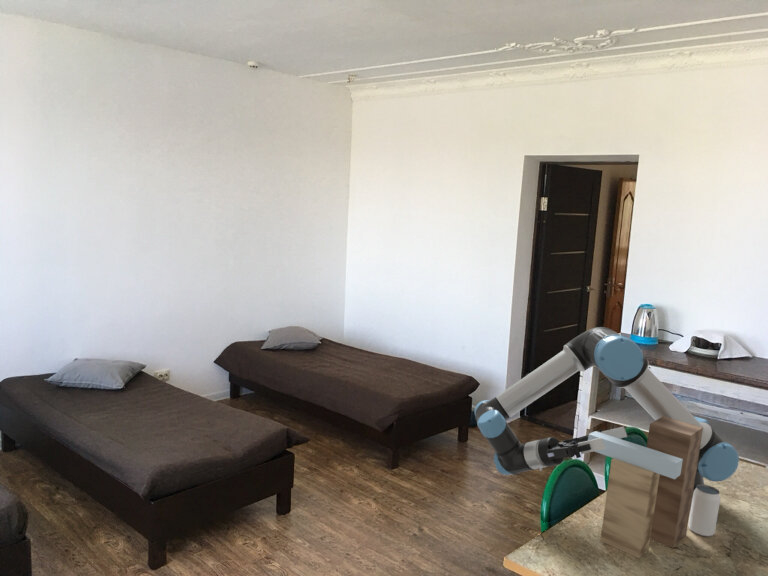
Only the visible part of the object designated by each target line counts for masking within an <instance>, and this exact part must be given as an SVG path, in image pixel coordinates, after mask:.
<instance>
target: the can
mask: <svg viewBox="0 0 768 576" xmlns="http://www.w3.org/2000/svg"><path fill="white" fill-rule="evenodd" d="M720 502H721V496H720V491H719V489H717V488H716V487H713V486H711V485H707V484H705V485H702V484H700V485H697V486H696V489H695V490H694V493H693V498H692V501H691V507H690V513H689V520H688V526H687V528H689V530H690V531H691V532H692V533H694V534H696V535H698V536H701V537H707V538H708V537H712V536H713V535H715V533H716V527H717V521H718V514H719V511H720V510H719V509H720Z"/></svg>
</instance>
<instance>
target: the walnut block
mask: <svg viewBox="0 0 768 576" xmlns="http://www.w3.org/2000/svg"><path fill="white" fill-rule="evenodd" d="M648 428H649V429H648V436H647V442H646V447H647V448H650V449H653V450H656V451H659V452H662V453H666V454H669V455H672V456H675V457H678V458H681V459H683V462H682V468H681V474H680V476H678V477H677V478H676V479H672V478H670V477H667V476H664V475H661V474H660V477H659V483H658V490H657V497H656V503H655V510H654V517H653V523H652V530H651V536H650V540H652V541H655V542H658V543H660V544H662V545H665V546H667V547H669V548H673V549H674V548H675V547H676V545H678V544H679V543H680V542H681V541H682V540H683V539H684V538H685V537H686V536H687V530H688V524H689V517H690V511H691V504H692V495H693V488H694V482H695V476H696V469H697V463H698V457H699V451H700V444H701V438H702V432H703V427H700V426H697V425H693V424H690V423H686V422H683V421H679V420H675V419H672V418H668V417H665V416H663V417H661V418H659V419H658V420H656V421H655V420H654V421H652V422H650V423H649V427H648Z"/></svg>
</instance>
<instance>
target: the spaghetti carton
mask: <svg viewBox="0 0 768 576" xmlns="http://www.w3.org/2000/svg"><path fill="white" fill-rule="evenodd" d="M587 435H588V441H589V440H593V439H598V438H602V440H603V442H604V445H605V448H606V449H603V450H598V451H593V453H594V452H595V453H598V454H600V455H603V456H606V457H609V458H611V459H613V458H615V459H617V460H620V461H623V462H626V463H629V464H632V465H635V466H638V467H641V468H644V469H646V470H649V471H652V472H655V473H658V474H661V475H664V476H667V477H670V478H672V479H676V478H677V477H678V476H680V474H681V468H682V462H683V459H681V458H678V457H675V456H672V455H669V454H666V453H662V452H659V451H656V450H653V449H650V448H647V446H643V445H641V444H637V443H634V442H631V441H629V440H628V441H627V440H625V439H623V438H620V439H619V438H616V437H613V436H610V435H606V434H603V433H600V431H596V430H595V431H592V432H589V433H588V434H587Z"/></svg>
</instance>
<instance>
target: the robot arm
mask: <svg viewBox="0 0 768 576" xmlns="http://www.w3.org/2000/svg"><path fill="white" fill-rule="evenodd" d="M649 364H650V362H649V360H648V359H647V358H646V356H645V355H643V351H642V350H641V348H640V346H639V345H638V344H637V343H636V342H635V341H634V340H633V339H631V337H628V336H625V335H623V334H620V333H618V332H616V331H614V330H613V329H611V328H608V327H604V326H599V327H598V326H597V327H593V328H590V329H588V330H586V331H584V332H582V333H580V334H579V335H577V336H576V337H574V338H572V339H571V340H569V341H568V342H567V343H565V344H564V345H563V349H562V350H561V351H560V352H558V353H557V354H556V355H554V356H553V357H551V358H550V359H548V360H547V361H546V362H544V363H542V365H540V366H538V367H537V368H536V369H534V370H533V371H531V372H530V373H528V374H526V375H525V376H523V377H522V378H521V379H520V380H518V381H517V382H515V383H514V384H512V385H511V386H509V387H507V389H505V390H503V391H502V392H501V393H499V394H498V395H496V396H495V397H494V398H492V399H491V400H489V399H487V400H486V399H485V400H481V401H479V402H478V403H477V404H476V405H475V407H474V416H475V420H476V424H477V428H478V429H479V431H480V433H481V435H482V436H483V437H484V438H485V439H486V441H487V442H488V444H489V445H490V446H491V448H492V449H493V451H495V453H494V455H493V464H495V468H496V471H498V473H499V474H502V475H503V476H504V475H505V476H508V475H518V474H520V473H524V472H529V471H535V470H538V469H539V471H540V472H542V471H543V470H544V469H543V468H547V467H554V466H555V467H556V466H558V465H561V464H562V463H563V461H564V459H566V458H574V457H576V459H579V458H582V455H583V454H587V453H592V452H593V453H594V451H598V450H603V449H606V448H605V445H604V442H603V440H602V438H598V439H593V440H589V441H588V435H589V434H585V435H583V436H579V437H574V438H573V437H572V438H570V439H564V440H562V441H559V440H558V439H557V438H556V437H554V436H550V437H545V438H541V439H535V440H531V441H528V442H525V443H521V442H520V441H521V440H519V439H518V437H517V436H516V434H515V433H514V431H513V429H512V428H511V427H510V425H509V423H508V422H507V421H508V419H510V418H511V417H513V416H514V415H516V414H518V413H519V412H521V411H522V410H524V409H525V408H526V407H528V406H529V405H531V404H533V403H534V402H535V401H537V400H538V399H539V398H541V397H542V396H544V395H546V394H547V393H548V392H550V391H551V390H553V389H554V388H555V387H557V386H558V385H560V384H561V383H564V381H566V380H567V379H569V378H570V377H572V376H573V375H574V374H576V373H577V372H585V371H586V370H587V371H588V369H590V368H591V367H595V368H597V370H599V371H600V372H601V373H602V374H603V376H605V378H606V379H608V381H610V383H611V384H612V385H613V386H614V387H616V388H618V389H625V390H626V391H627V393H628V394H629V395H630V396H631V397H632V398H633V399H634V400H635V401H636V402H637V403H638V404H639V405H640V406H641V407H642V408H643V409H644V410H645V411H646V412H647V414H648V415H649V416H650V417H651V418H652V419H654V421H656V420H658V419H659V418H661V417H663V416H665V417H668V418H672V419H675V420H679V421H683V422H686V423H690V424H693V425H697V426H700V427H703V432H702V438H701V444H700V451H699V457H698V463H697V469H696V476H695V482H694V488H693V493H694V490H695V489H696V486H697V485H700V484H702V485H706V484H705V480H704V478H705V479H706V480H708V481H711V482H723V481H725V480H727V479H729V478H730V477H732V476H733V475H734V474H735V472H736V471H737V469H738V467H739V462H740V456H739V453H738V451H737V449H736V448H735V447H734V445H732V444H730V443H729V442H726V441H725V439H723V438H722V437H721V436H720V435H719V434H718V433H717V432H716V431H715V430H714V428H713V427H711V425H710V424H709V421H708V420H707V419H705V418H702V417H699V416H695V415H693V414H692V413H691V412H690V411H689V410H688V409H687V408H686V407H685V406H684V405H683V404H682V403H681V401H680V400H678V398H676V396H674V394H673V393H672V392H671V391H670V390H669V389H668V388H667V387H666V385H665V384H663V382H662V381H661V380H660V379H659V378H658V377H657V376H656V375H655V374H654V373H653V372H652V370H650V369H649V366H650V365H649ZM598 432H600V433H603V434H606V435H610V436H613V437H616V438H619V439H625V438H627V437H628V433H627V431H626V428H625V427H624V426H620V427H615V428H612V429H607V430H603V429H602V428H600V429H598ZM692 498H693V495H692Z"/></svg>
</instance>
